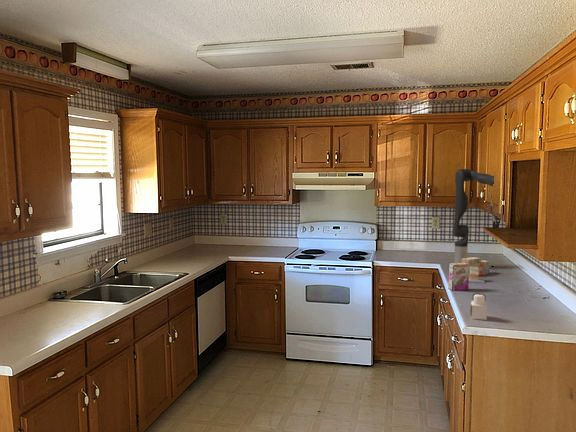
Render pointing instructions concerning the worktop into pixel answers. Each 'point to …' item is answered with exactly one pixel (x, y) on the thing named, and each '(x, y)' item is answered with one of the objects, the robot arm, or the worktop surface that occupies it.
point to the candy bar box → (458, 276)
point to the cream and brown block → (474, 273)
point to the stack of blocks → (477, 264)
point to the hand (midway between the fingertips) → (495, 228)
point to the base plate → (477, 281)
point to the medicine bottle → (478, 307)
